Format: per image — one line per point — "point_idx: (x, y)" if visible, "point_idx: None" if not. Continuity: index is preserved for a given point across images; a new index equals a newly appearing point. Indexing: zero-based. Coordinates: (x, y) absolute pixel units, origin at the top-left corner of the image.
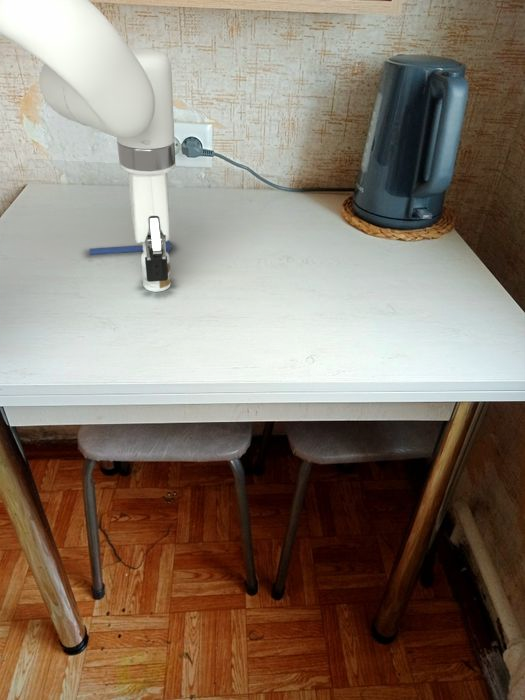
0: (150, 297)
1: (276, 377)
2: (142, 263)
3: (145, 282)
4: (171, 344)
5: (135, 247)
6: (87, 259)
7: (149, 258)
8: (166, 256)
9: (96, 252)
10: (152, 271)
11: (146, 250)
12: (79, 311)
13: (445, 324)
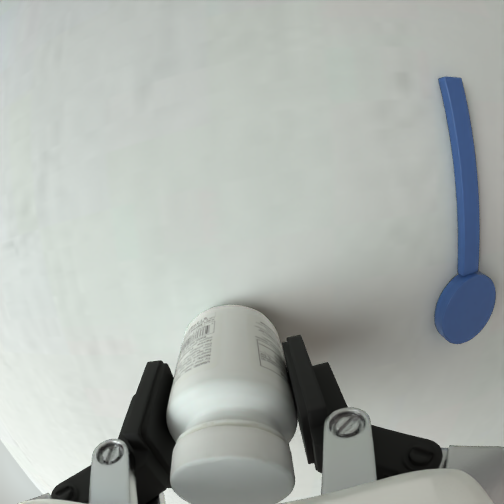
0: (167, 326)
1: (27, 472)
2: (189, 377)
3: (191, 331)
4: (12, 371)
5: (470, 235)
6: (410, 69)
7: (98, 458)
8: (170, 487)
9: (446, 100)
10: (127, 413)
11: (90, 482)
12: (66, 113)
13: None
